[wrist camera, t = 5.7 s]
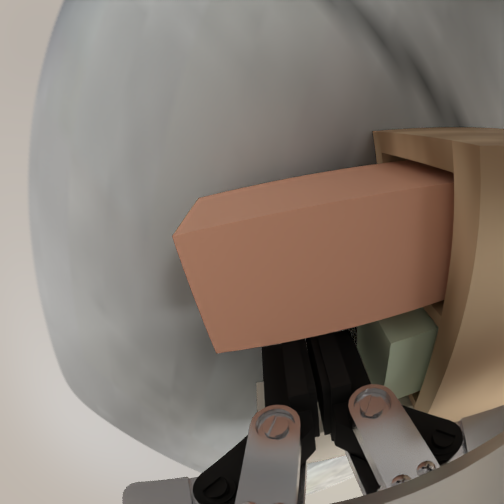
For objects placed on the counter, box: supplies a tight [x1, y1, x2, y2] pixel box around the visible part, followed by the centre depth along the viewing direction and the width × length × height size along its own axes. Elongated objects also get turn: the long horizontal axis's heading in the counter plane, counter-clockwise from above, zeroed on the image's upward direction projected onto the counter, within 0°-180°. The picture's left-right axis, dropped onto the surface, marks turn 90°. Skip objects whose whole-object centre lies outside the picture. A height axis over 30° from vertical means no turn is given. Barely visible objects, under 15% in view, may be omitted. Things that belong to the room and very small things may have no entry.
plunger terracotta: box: [172, 160, 454, 353], centre depth 7 cm, size 3×9×3 cm, turn 102°
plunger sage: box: [357, 307, 439, 399], centre depth 9 cm, size 3×9×3 cm, turn 102°
